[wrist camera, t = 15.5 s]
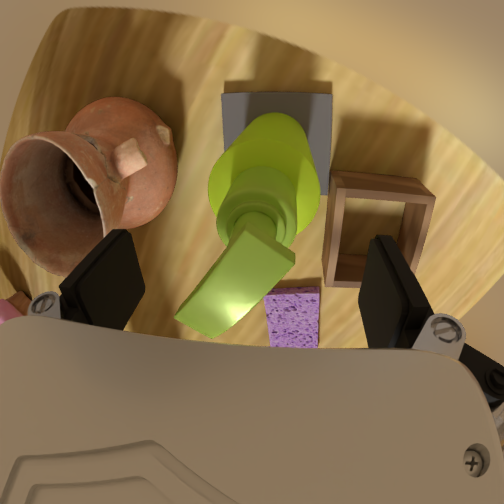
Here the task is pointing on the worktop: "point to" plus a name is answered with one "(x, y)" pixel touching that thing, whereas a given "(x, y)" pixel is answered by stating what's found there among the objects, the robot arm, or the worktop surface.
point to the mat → (294, 105)
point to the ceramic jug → (87, 181)
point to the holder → (380, 188)
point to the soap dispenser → (254, 220)
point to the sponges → (293, 316)
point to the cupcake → (14, 306)
